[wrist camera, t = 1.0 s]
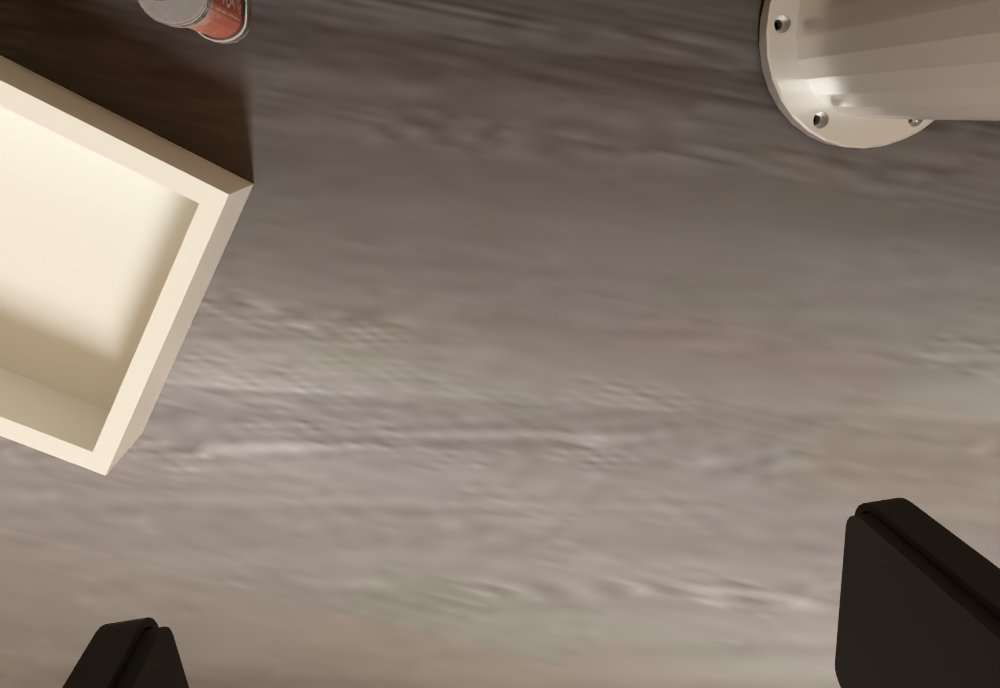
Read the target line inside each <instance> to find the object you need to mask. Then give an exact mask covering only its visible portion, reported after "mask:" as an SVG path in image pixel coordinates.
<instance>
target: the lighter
mask: <svg viewBox="0 0 1000 688" xmlns="http://www.w3.org/2000/svg"><path fill="white" fill-rule="evenodd" d="M138 2H139V4H140V5H141V7H142V8H143V10H144V11H145V13H146V14H148V15H149V16H150V17H152V18H153V19H154V20H155V21H158V22H161V23H163V24H166V25H169V26H171V27H178V28H190V29H193V30H195V31H197V32H198V33H199V34H201V35H202V36H203V37H204V38H206V39H209V40H211V41H214V42H217V43H222V44H230V43H234V42H238V41H239V40H241V39H242V38H243V37H245V36H246V34H247V33H248V31H249V29H250V25H251V0H138Z"/></svg>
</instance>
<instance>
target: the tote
mask: <svg viewBox="0 0 1000 688" xmlns="http://www.w3.org/2000/svg"><path fill="white" fill-rule="evenodd" d="M253 185H254V184H253V183H251V182H249V181H247V180H245V179H243V178H241V177H239V176H237V175H235V174H233V173H231V172H229V171H227V170H225V169H223V168H221V167H219V166H217V165H215V164H213V163H212V162H210V161H208V160H206V159H204V158H202V157H200V156H198V155H196V154H194V153H192V152H190V151H188V150H186V149H184V148H182V147H180V146H178V145H176V144H174V143H172V142H170V141H168V140H166V139H164V138H162V137H160V136H158V135H156V134H154V133H152V132H151V131H149V130H147V129H145V128H143V127H141V126H139V125H137V124H135V123H133V122H131V121H129V120H127V119H125V118H123V117H121V116H119V115H117V114H115V113H113V112H111V111H109V110H107V109H105V108H103V107H101V106H99V105H97V104H95V103H93V102H92V101H90V100H88V99H86V98H84V97H82V96H80V95H78V94H76V93H74V92H72V91H70V90H68V89H66V88H64V87H62V86H60V85H58V84H56V83H54V82H52V81H50V80H48V79H46V78H44V77H42V76H40V75H38V74H36V73H34V72H32V71H31V70H29V69H27V68H25V67H23V66H21V65H19V64H17V63H15V62H13V61H11V60H9V59H7V58H5V57H3V56H1V55H0V436H2V437H5V438H8V439H10V440H13V441H16V442H18V443H21V444H24V445H26V446H29V447H31V448H34V449H37V450H39V451H42V452H45V453H47V454H50V455H53V456H55V457H58V458H61V459H63V460H66V461H68V462H71V463H74V464H76V465H79V466H82V467H84V468H87V469H90V470H92V471H95V472H98V473H100V474H103V475H105V476H106V475H107V473H108V472H109V471H110V470H111V469H112V468H113V467H114V465H115V464H116V463H117V462H118V461H119V460H120V458H121V457H122V456H123V455H124V454H125V453H126V452H127V450H128V449H129V448H130V447H131V446H132V445H133V443H134V442H135V441H136V440H137V439H138V438H139V437H140V435H141V434H142V433H143V431H144V429H145V427H146V424H147V422H148V420H149V418H150V415H151V413H152V411H153V409H154V406H155V404H156V402H157V400H158V397H159V395H160V393H161V391H162V389H163V386H164V384H165V382H166V380H167V377H168V375H169V373H170V371H171V368H172V366H173V364H174V362H175V359H176V357H177V355H178V353H179V350H180V348H181V346H182V344H183V341H184V339H185V337H186V335H187V332H188V330H189V328H190V326H191V324H192V321H193V319H194V317H195V315H196V312H197V310H198V308H199V306H200V303H201V301H202V299H203V297H204V294H205V292H206V290H207V288H208V285H209V283H210V281H211V279H212V276H213V274H214V272H215V270H216V268H217V265H218V263H219V261H220V259H221V256H222V254H223V252H224V250H225V247H226V245H227V243H228V241H229V238H230V236H231V234H232V232H233V229H234V227H235V225H236V223H237V220H238V218H239V216H240V214H241V211H242V209H243V207H244V205H245V203H246V200H247V198H248V196H249V194H250V191H251V189H252V187H253Z"/></svg>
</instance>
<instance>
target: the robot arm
mask: <svg viewBox="0 0 1000 688" xmlns="http://www.w3.org/2000/svg"><path fill="white" fill-rule="evenodd" d="M775 21H776V22H777V23H778V28H777V30H776V29H775V26H774V23H775ZM759 49H760V57H761V66H762V70H763V74H764V77H765V80H766V83H767V87H768V90H769V92H770V93H771V95H772V97H773V99H774V101H775V103H776V104H777V106H778V108H779V109H780V111H781V112H782V113H783V114H784V115H785V116H786V118H787V119H788V120H789V121H790V122H791V123H792V124H793V125H794V126H795V127H797V128H798V129H799V130H801V131H802V132H803V133H805V134H806V135H807V136H809V137H812V138H814V139H816V140H818V141H821V142H823V143H825V144H830V145H835V146H840V147H847V148H870V147H878V146H885V145H888V144H891V143H894V142H897V141H900V140H903V139H905V138H907V137H909V136H911V135H913V134H915V133H917V132H919V131H920V130H922V129H924V128H925V127H926V126H928V125H929V124H930V123H931V122H933V121H934V120H1000V0H765V1H764V5H763V10H762V14H761V19H760V35H759ZM814 116H815V118H816V121H815V123H814V124H813V119H814ZM835 671H836V675H837V679H838V681H839V684H840V686H841V688H1000V569H999V568H998V567H997V566H995V565H994V564H993V563H991V562H990V561H989V560H987V559H986V558H985V557H983V556H982V555H981V554H979V553H978V552H977V551H975V550H974V549H973V548H971V547H970V546H969V545H967V544H966V543H965V542H963V541H962V540H961V539H959V538H958V537H957V536H955V535H954V534H953V533H951V532H950V531H949V530H947V529H946V528H945V527H943V526H942V525H941V524H939V523H938V522H937V521H935V520H934V519H933V518H931V517H930V516H929V515H927V514H926V513H925V512H923V511H922V510H921V509H919V508H918V507H917V506H915V505H914V504H913V503H911V502H910V501H908V500H906V499H904V498H894V499H888V500H881V501H875V502H869V503H863V504H861V505H859V506H858V508H857V509H856V512H855V515H854V516H851V517H849V519H848V520H847V524H846V533H845V545H844V557H843V570H842V582H841V595H840V607H839V620H838V632H837V645H836V657H835ZM63 688H189V686H188V683H187V680H186V676H185V673H184V670H183V666H182V663H181V660H180V656H179V653H178V650H177V646H176V643H175V640H174V636H173V634H172V631H171V630H170V629H169V627H158V625H157V623H156V622H155V620H154V619H153V618H149V617H148V618H142V619H136V620H129V621H123V622H117V623H110V624H105V625H103V626H101V627H100V628H99V629H98V630H97V632H96V633H95V635H94V636H93V638H92V640H91V641H90V643H89V645H88V646H87V648H86V649H85V651H84V653H83V654H82V656H81V658H80V659H79V661H78V663H77V664H76V666H75V668H74V669H73V671H72V673H71V674H70V676H69V678H68V679H67V681H66V683H65V684H64V686H63Z"/></svg>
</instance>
